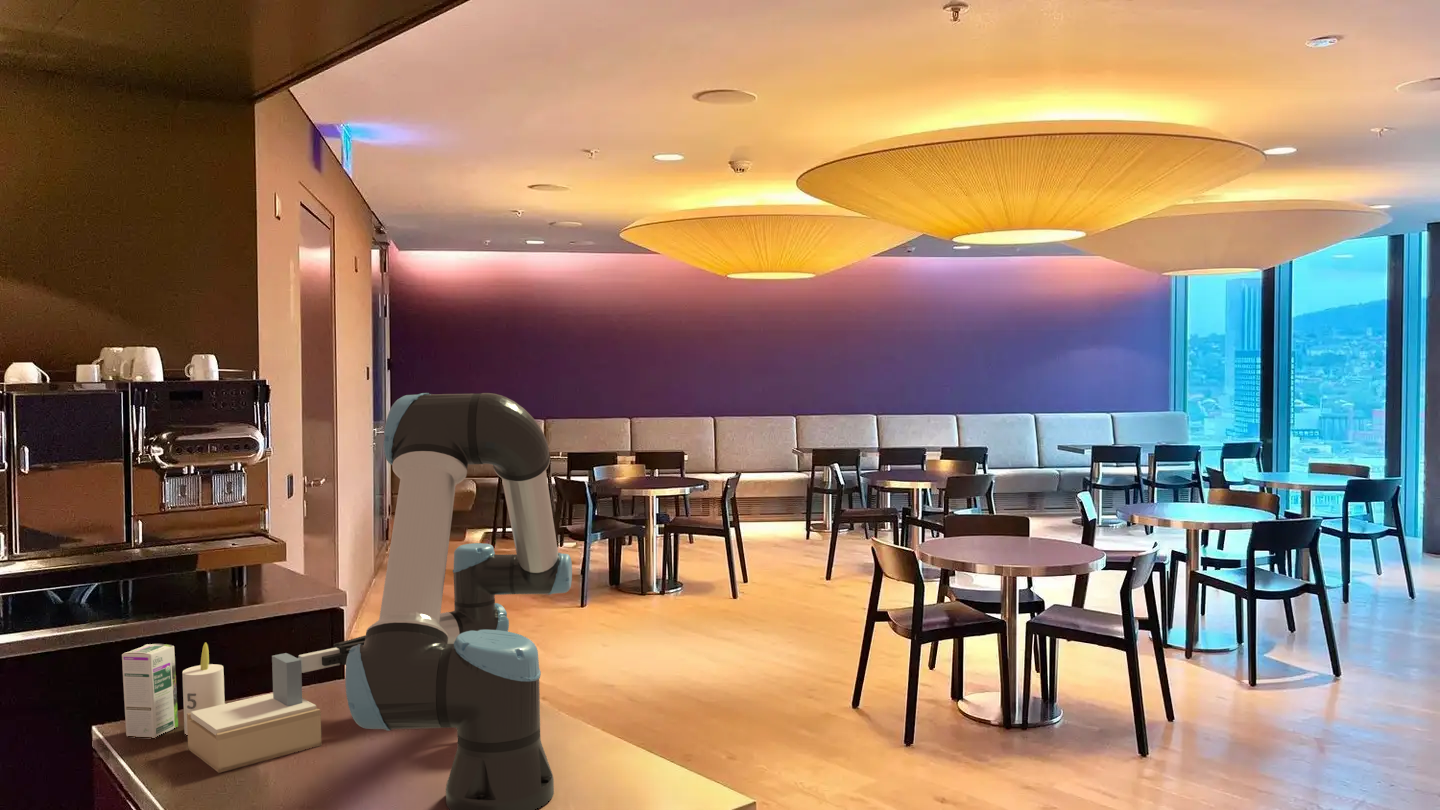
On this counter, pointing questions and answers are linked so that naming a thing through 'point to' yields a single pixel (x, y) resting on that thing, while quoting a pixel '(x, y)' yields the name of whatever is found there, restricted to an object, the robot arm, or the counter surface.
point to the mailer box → (254, 740)
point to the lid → (261, 701)
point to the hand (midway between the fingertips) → (300, 663)
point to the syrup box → (150, 690)
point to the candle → (202, 686)
